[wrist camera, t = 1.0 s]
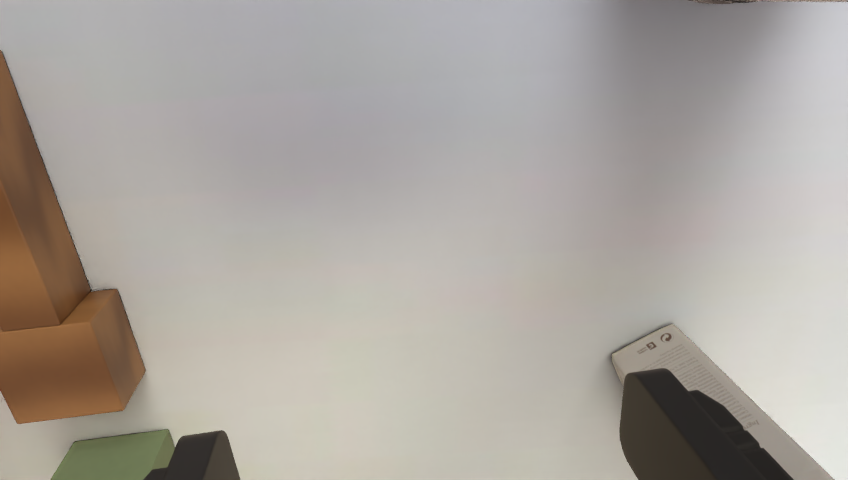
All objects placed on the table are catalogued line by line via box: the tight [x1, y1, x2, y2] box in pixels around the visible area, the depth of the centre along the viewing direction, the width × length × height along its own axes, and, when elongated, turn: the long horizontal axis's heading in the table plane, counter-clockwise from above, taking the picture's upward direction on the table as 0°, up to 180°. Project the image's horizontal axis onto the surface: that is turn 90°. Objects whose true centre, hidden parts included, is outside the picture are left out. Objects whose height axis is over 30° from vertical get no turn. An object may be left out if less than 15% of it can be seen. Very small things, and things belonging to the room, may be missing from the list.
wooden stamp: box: [0, 50, 145, 424], centre depth 23 cm, size 16×5×3 cm, turn 4°
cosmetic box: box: [612, 324, 834, 480], centre depth 27 cm, size 6×4×12 cm
